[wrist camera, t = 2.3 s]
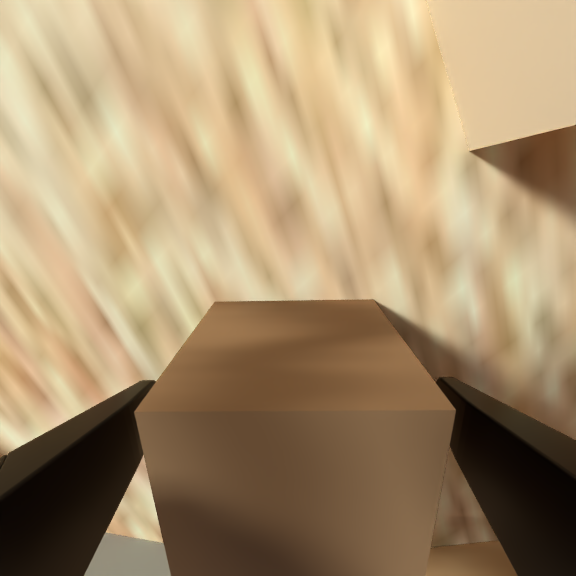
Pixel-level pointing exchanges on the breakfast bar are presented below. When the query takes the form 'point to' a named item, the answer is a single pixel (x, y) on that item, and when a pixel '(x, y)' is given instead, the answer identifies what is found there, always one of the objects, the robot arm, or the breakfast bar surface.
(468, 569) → the oak cube
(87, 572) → the slate blue cube
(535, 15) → the cream cube
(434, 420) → the walnut cube
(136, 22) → the breakfast bar surface
